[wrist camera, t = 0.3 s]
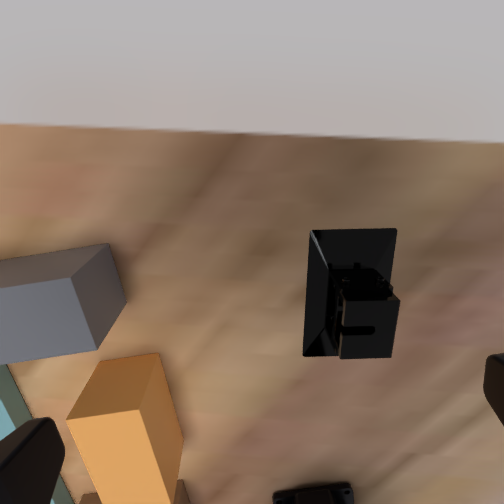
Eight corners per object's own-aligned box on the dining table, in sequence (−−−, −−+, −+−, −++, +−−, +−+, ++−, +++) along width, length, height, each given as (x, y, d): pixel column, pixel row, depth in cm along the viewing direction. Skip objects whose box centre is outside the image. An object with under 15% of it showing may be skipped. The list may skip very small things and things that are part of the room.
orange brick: (184, 439, 26) (172, 508, 21) (131, 446, 26) (108, 517, 21) (158, 351, 23) (139, 409, 18) (100, 360, 23) (65, 420, 18)
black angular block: (295, 199, 20) (310, 218, 16) (415, 198, 21) (462, 216, 16) (288, 371, 25) (298, 422, 20) (388, 368, 25) (419, 418, 20)
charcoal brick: (108, 242, 20) (70, 277, 16) (127, 301, 22) (97, 350, 17) (-24, 263, 20) (-102, 304, 16) (3, 321, 22) (-61, 374, 17)
